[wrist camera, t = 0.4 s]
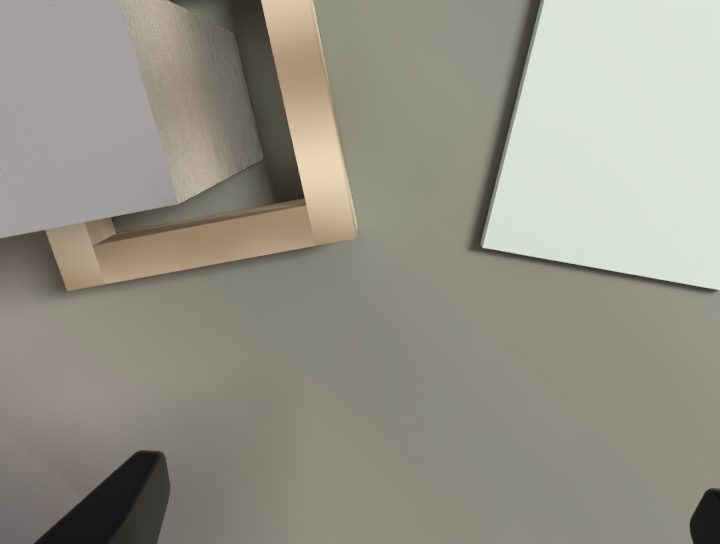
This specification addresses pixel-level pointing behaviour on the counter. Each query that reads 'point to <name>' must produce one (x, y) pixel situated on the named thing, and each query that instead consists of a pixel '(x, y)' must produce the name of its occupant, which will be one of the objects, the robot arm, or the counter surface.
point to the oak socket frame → (248, 226)
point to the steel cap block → (115, 110)
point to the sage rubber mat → (616, 141)
